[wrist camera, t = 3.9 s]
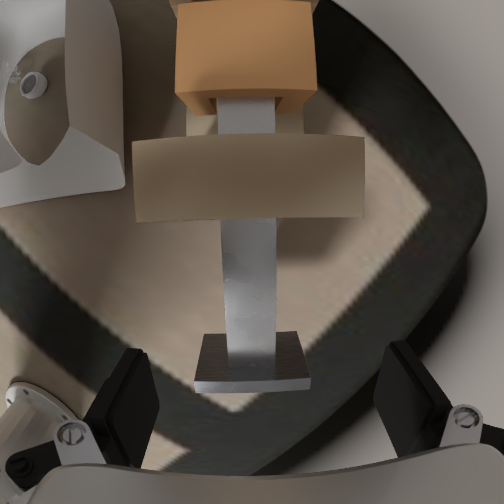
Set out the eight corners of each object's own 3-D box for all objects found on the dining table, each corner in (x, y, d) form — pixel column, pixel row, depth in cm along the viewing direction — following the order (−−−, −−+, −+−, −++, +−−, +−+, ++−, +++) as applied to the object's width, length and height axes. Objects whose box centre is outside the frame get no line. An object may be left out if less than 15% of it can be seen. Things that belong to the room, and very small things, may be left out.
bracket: (302, 202, 22) (375, 248, 9) (190, 205, 22) (124, 254, 9) (296, 19, 18) (341, -91, 6) (189, 21, 18) (146, -88, 5)
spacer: (294, 113, 17) (317, 90, 11) (196, 116, 17) (174, 92, 11) (291, 46, 16) (310, 2, 10) (196, 48, 15) (178, 4, 10)
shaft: (296, 341, 20) (309, 389, 15) (205, 344, 20) (195, 392, 15) (292, -2, 14) (306, -45, 9) (194, 0, 14) (181, -44, 9)
